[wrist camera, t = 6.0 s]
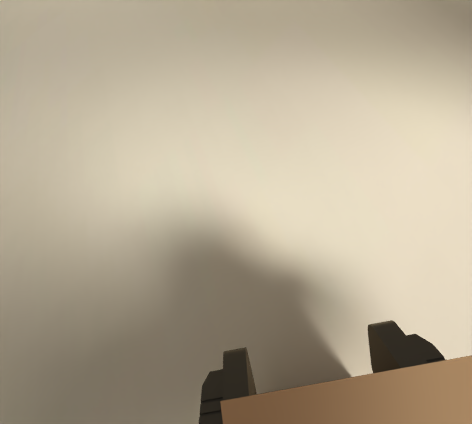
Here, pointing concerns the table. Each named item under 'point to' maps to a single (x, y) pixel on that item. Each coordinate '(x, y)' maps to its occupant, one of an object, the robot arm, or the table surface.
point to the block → (367, 399)
